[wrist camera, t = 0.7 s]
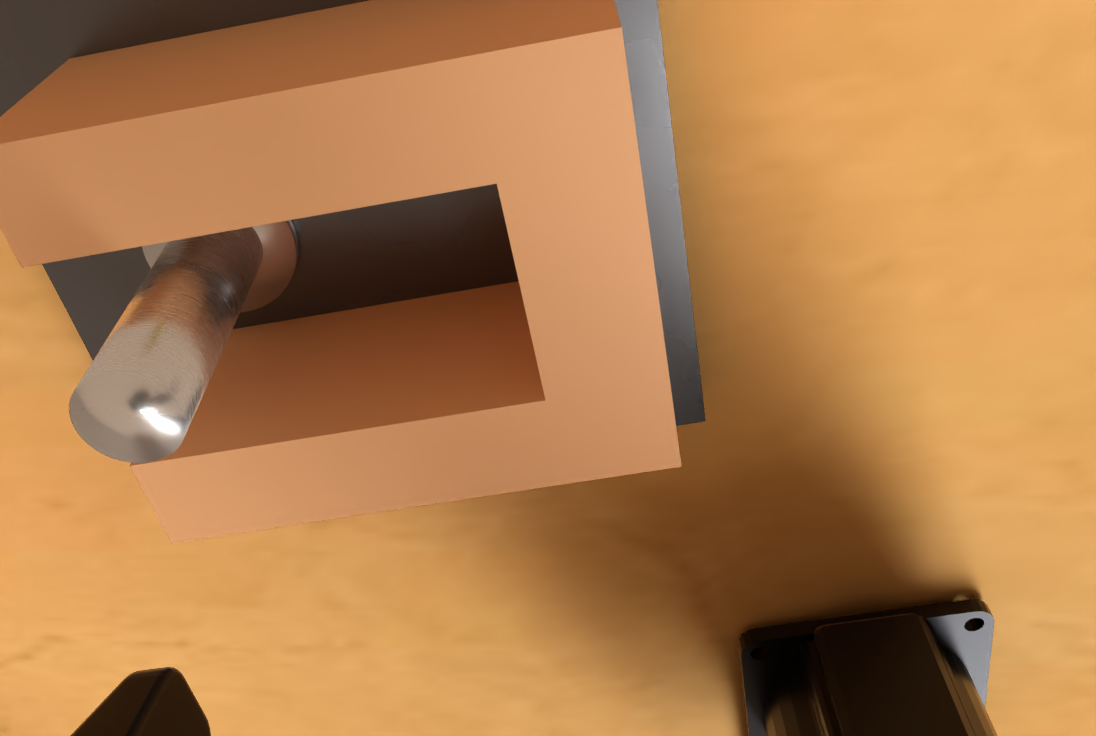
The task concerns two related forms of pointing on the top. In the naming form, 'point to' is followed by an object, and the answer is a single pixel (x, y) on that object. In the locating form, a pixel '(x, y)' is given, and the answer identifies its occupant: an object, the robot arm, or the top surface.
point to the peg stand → (298, 237)
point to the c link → (359, 181)
